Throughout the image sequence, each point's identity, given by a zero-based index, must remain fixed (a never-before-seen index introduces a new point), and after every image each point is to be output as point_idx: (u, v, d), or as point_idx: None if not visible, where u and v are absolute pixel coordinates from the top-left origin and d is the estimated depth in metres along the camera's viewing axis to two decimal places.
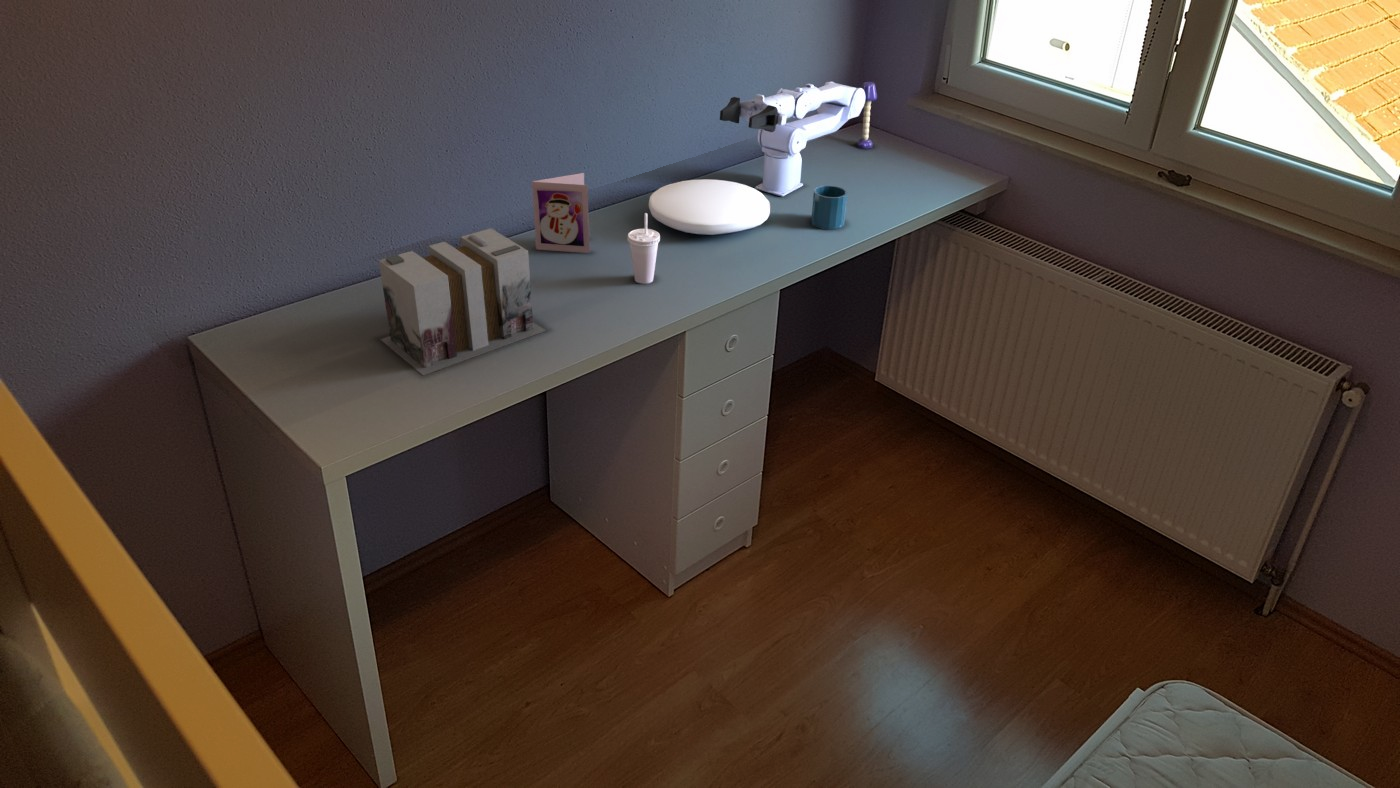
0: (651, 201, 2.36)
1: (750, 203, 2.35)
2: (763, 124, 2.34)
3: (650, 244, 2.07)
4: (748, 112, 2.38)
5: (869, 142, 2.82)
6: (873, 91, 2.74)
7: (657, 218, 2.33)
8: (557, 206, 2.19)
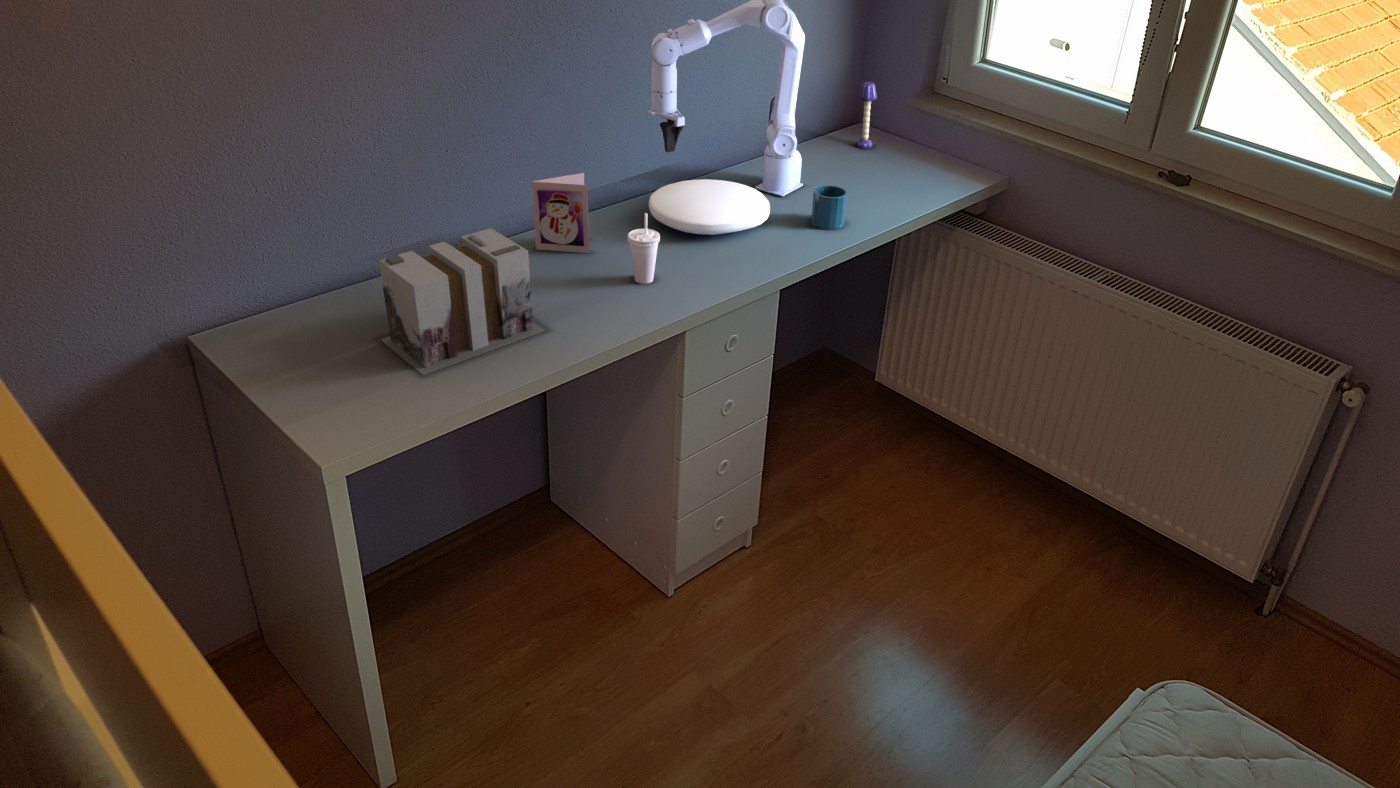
0: (651, 201, 2.36)
1: (750, 203, 2.35)
2: (675, 132, 2.44)
3: (650, 244, 2.07)
4: None
5: (869, 142, 2.82)
6: (873, 91, 2.74)
7: (657, 218, 2.33)
8: (557, 206, 2.19)
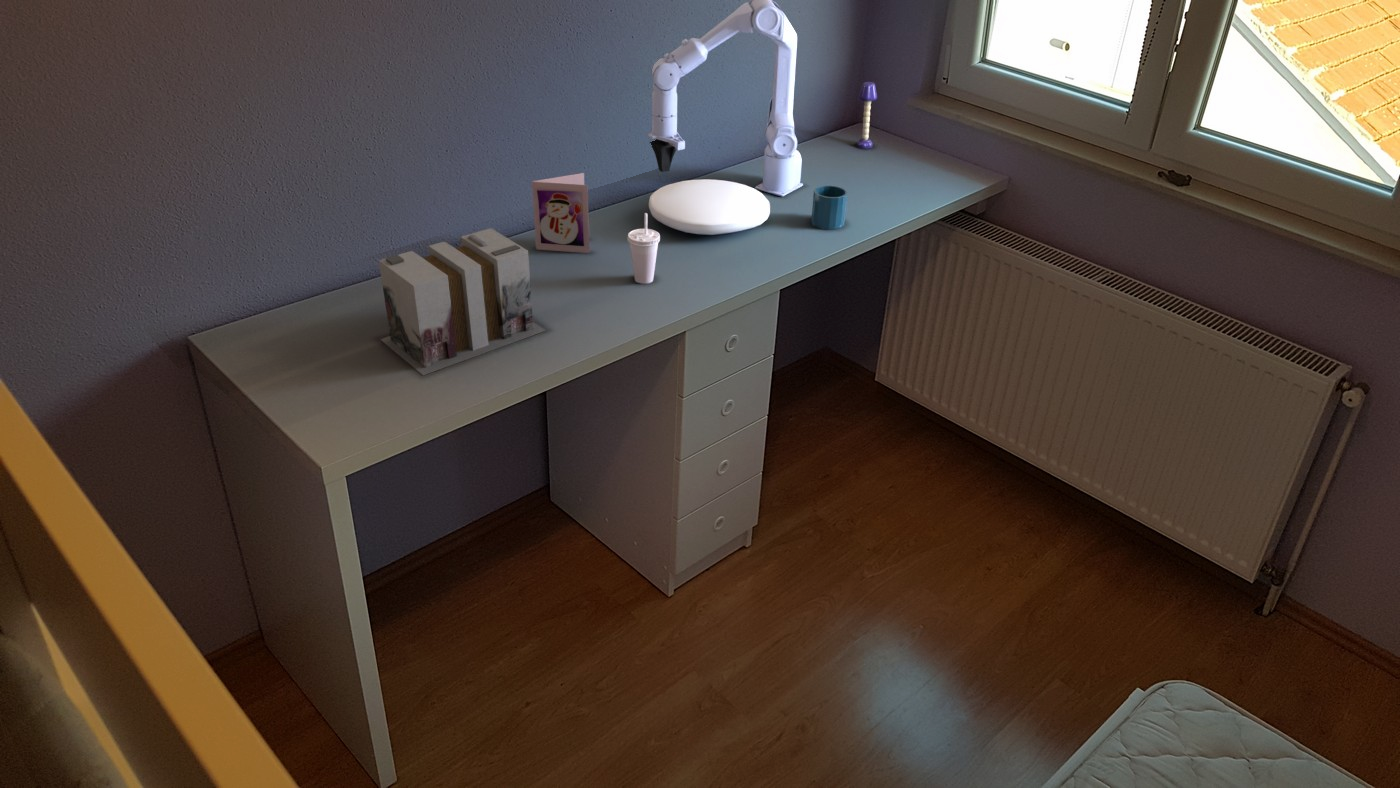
0: (651, 201, 2.36)
1: (750, 203, 2.35)
2: (669, 152, 2.49)
3: (650, 244, 2.07)
4: None
5: (869, 142, 2.82)
6: (873, 91, 2.74)
7: (657, 218, 2.33)
8: (557, 206, 2.19)
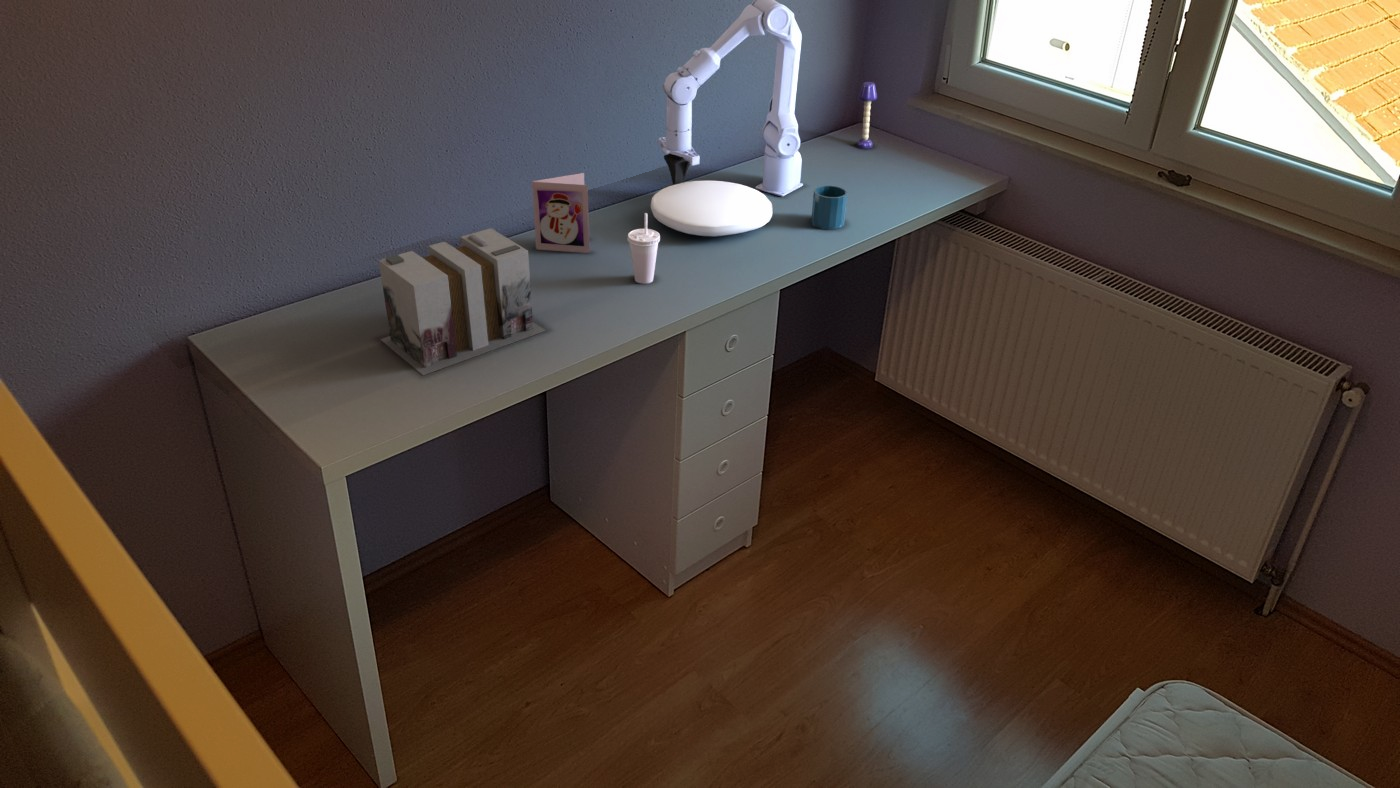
0: (653, 203, 2.35)
1: (752, 205, 2.35)
2: (683, 166, 2.46)
3: (650, 244, 2.07)
4: None
5: (869, 142, 2.82)
6: (873, 91, 2.74)
7: (659, 219, 2.32)
8: (557, 206, 2.19)
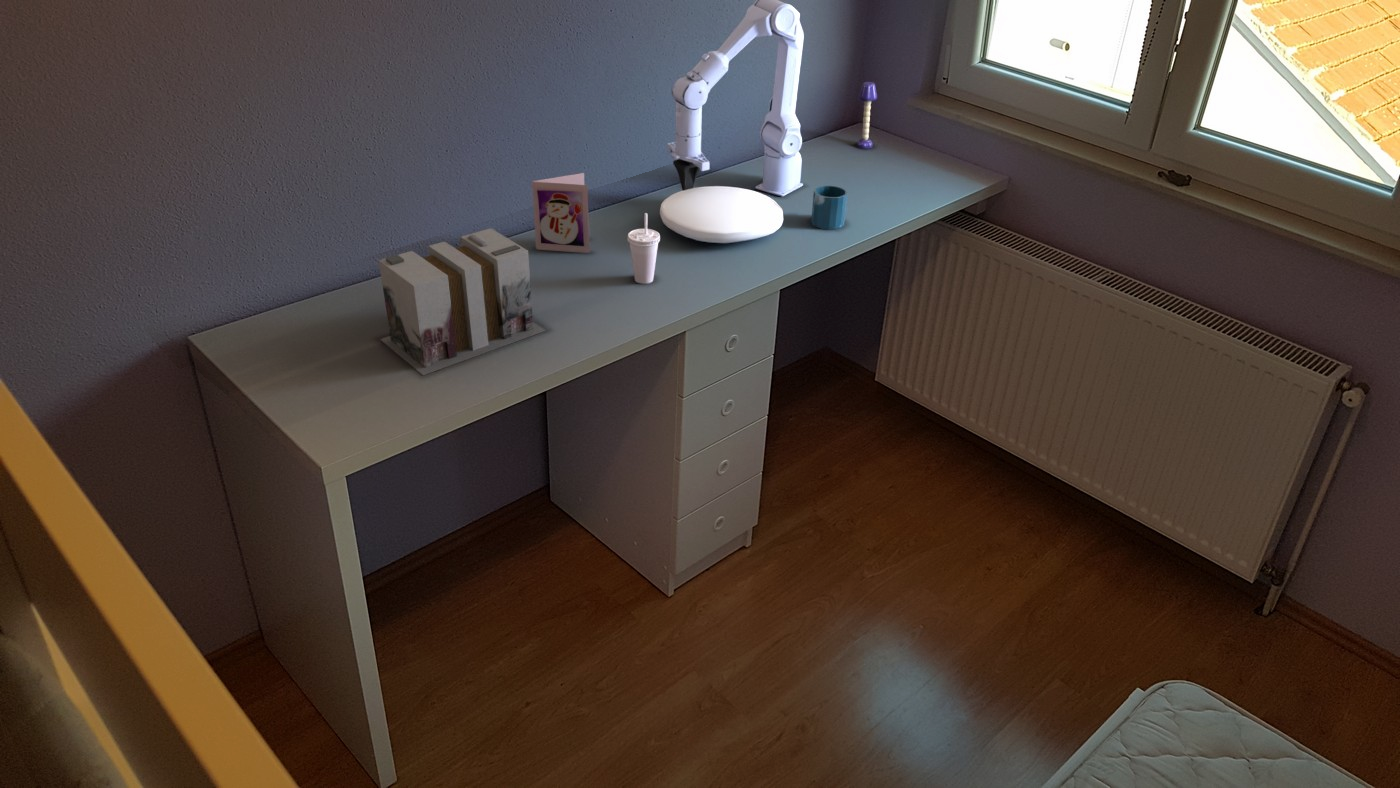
0: (662, 209, 2.32)
1: (763, 211, 2.32)
2: (693, 172, 2.43)
3: (650, 244, 2.07)
4: None
5: (869, 142, 2.82)
6: (873, 91, 2.74)
7: (669, 226, 2.29)
8: (557, 206, 2.19)
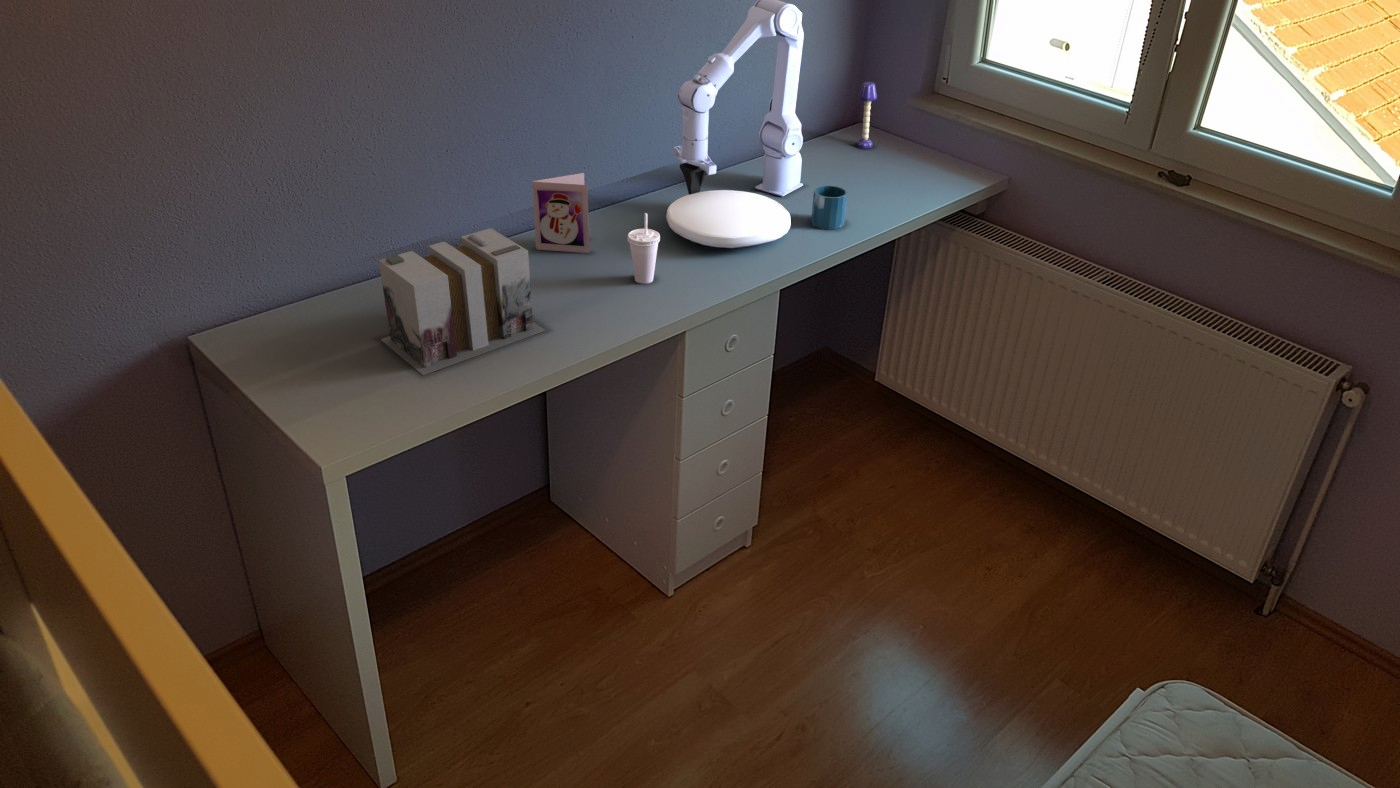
0: (669, 213, 2.30)
1: (770, 215, 2.30)
2: (699, 176, 2.41)
3: (650, 244, 2.07)
4: None
5: (869, 142, 2.82)
6: (873, 91, 2.74)
7: (675, 230, 2.27)
8: (557, 206, 2.19)
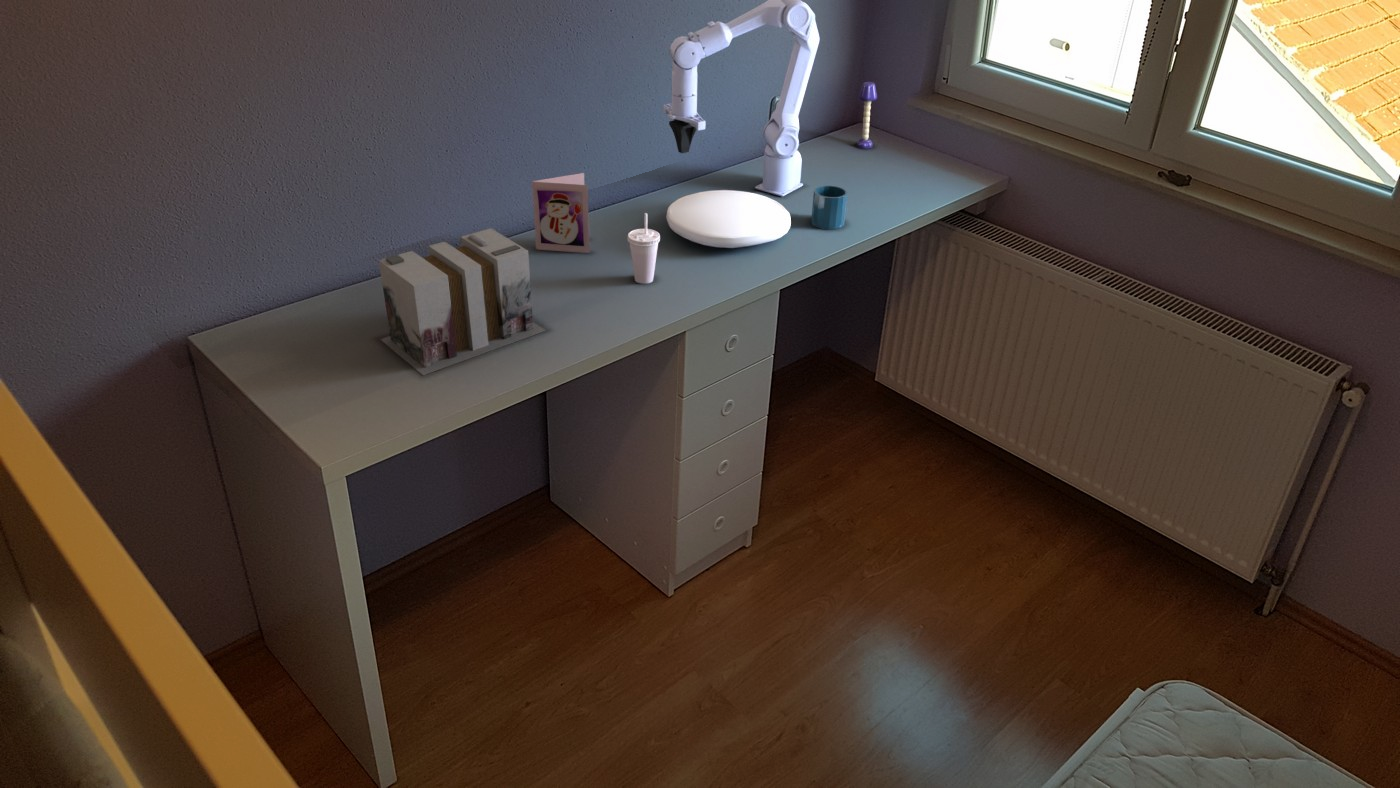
0: (669, 213, 2.30)
1: (770, 215, 2.30)
2: (689, 133, 2.44)
3: (650, 244, 2.07)
4: None
5: (869, 142, 2.82)
6: (873, 91, 2.74)
7: (675, 230, 2.27)
8: (557, 206, 2.19)
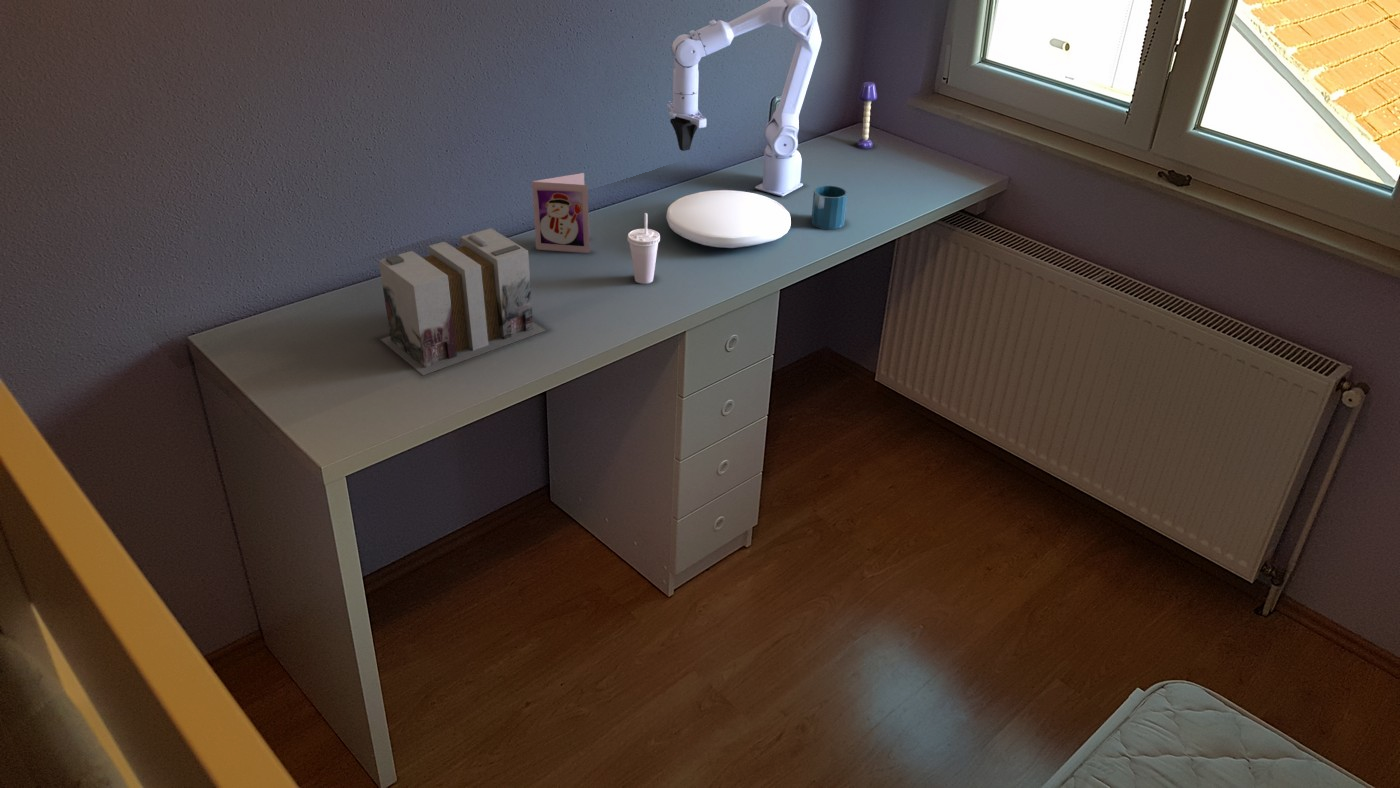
0: (669, 213, 2.30)
1: (770, 215, 2.30)
2: (690, 130, 2.46)
3: (650, 244, 2.07)
4: None
5: (869, 142, 2.82)
6: (873, 91, 2.74)
7: (675, 230, 2.27)
8: (557, 206, 2.19)
